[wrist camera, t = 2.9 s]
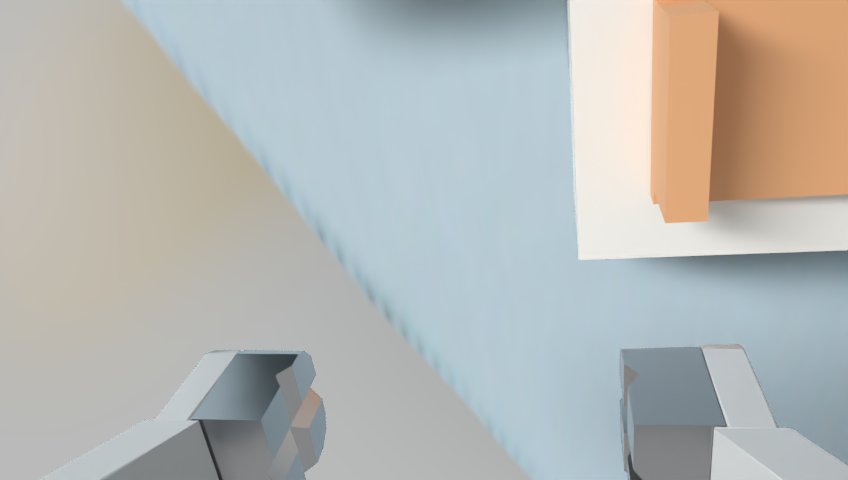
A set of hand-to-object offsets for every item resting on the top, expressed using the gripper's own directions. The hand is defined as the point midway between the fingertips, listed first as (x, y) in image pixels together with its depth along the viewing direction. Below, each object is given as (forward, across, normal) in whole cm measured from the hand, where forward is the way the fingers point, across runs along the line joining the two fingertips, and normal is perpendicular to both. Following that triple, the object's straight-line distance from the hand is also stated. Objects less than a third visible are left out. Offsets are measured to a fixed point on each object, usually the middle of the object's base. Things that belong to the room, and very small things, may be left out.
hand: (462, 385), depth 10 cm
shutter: (+15, -8, 0) cm, 17 cm away
